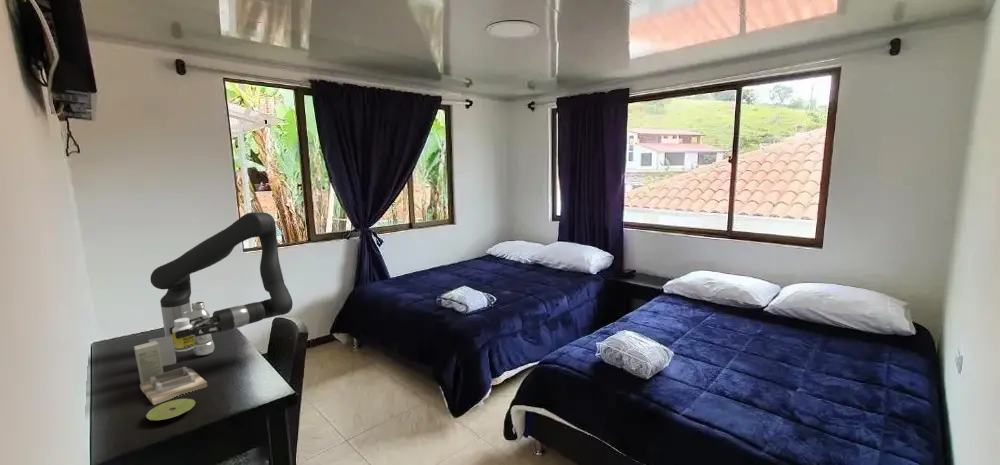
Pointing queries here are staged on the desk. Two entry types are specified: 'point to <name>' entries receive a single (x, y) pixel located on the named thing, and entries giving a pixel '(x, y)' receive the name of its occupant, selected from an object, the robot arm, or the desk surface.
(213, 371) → the desk surface
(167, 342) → the tea bag
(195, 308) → the plastic bottle
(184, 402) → the green disc with hole
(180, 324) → the supplement bottle
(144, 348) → the skincare box
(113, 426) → the desk surface
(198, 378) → the socket board
